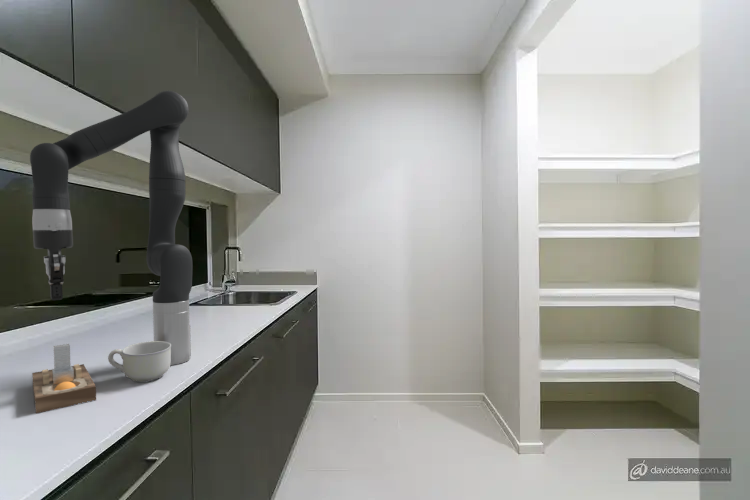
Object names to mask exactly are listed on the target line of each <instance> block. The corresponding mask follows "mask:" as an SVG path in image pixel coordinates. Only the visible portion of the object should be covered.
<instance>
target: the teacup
mask: <svg viewBox="0 0 750 500" xmlns="http://www.w3.org/2000/svg"><path fill="white" fill-rule="evenodd" d="M115 354H116V355H119V356H120V357H121V359H122V364H121V363H119V362H117V361H116V360H115V359H114V356H115ZM107 357H108V358H107V360H108V362H109V364H110V365H111V366H112V367H114V368H116V369H119V370H120V371H121V372H122V373H124V375H125V377H127V378H129V379H130V380H132V381H134V382H136V383H146V381H147V382H151V381H155V380H157V379H160V378H162V377H163V376H164V374H166V373H167V372H168V371H169V370H170V367H171V365H170V363H171V344H170V343H168V342H163V341H154V340H151V341H150V340H149V341H143V342H137V343H134V344H130V345H127V346H126V347H124V348H123V349H120V348H116V349H114V350H111V351H110V353H109V354H108V356H107Z"/></svg>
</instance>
